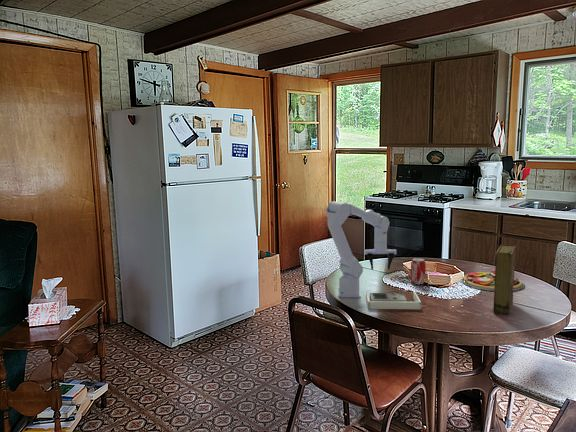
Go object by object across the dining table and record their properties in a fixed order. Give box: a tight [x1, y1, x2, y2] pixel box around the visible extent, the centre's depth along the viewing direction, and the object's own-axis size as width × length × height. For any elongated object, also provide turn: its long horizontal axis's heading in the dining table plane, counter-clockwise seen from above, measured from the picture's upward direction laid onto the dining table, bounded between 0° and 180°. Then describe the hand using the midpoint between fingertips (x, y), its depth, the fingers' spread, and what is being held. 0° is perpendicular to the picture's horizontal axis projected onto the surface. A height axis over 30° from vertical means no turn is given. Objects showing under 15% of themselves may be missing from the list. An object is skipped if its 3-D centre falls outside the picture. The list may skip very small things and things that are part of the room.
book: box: [492, 243, 517, 316], centre depth 178 cm, size 16×6×25 cm, turn 148°
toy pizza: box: [460, 270, 525, 292], centre depth 212 cm, size 28×28×4 cm
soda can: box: [410, 257, 427, 286], centre depth 214 cm, size 7×7×12 cm
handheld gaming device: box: [369, 292, 408, 302], centre depth 189 cm, size 9×15×4 cm, turn 84°
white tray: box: [365, 291, 422, 310], centre depth 189 cm, size 22×13×3 cm, turn 84°
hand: (380, 269), depth 208 cm, fingers open, 7 cm apart
